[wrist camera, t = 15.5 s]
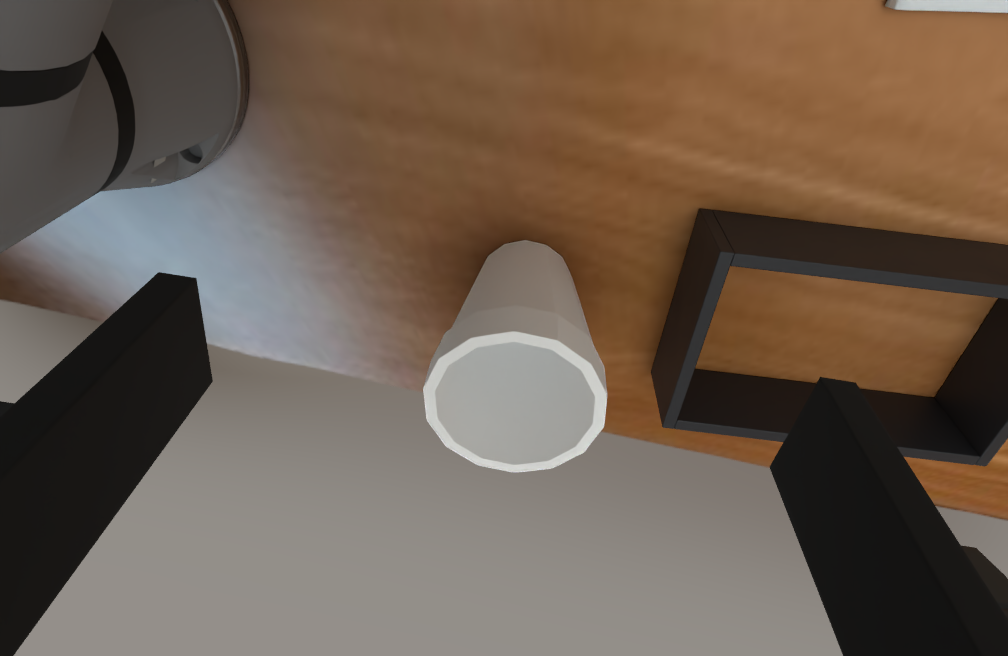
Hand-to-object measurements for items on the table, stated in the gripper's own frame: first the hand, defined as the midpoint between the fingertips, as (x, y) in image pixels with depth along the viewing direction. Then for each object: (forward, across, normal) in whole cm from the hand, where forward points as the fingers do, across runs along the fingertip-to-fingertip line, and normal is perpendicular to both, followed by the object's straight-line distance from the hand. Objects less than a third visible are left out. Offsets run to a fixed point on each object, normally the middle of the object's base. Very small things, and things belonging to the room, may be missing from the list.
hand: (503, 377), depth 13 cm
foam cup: (+27, +2, -13) cm, 29 cm away
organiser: (+26, +22, -11) cm, 36 cm away
